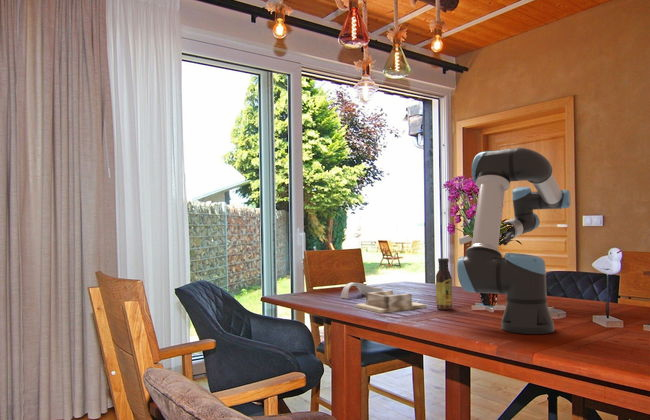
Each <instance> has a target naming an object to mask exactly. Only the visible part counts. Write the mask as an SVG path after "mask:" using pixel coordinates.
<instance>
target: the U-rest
mask: <svg viewBox="0 0 650 420" xmlns="http://www.w3.org/2000/svg"><path fill="white" fill-rule="evenodd" d="M412 297H413V296H412V293H402V294H395V295H394V291H393V290H391V289H390V290H382V291H380V292H370V293H366V295H365V298H366V299H365V300H366V301H365V302H362V303H356V304H355V307H356V308H358V309H362V310H366V311H371V312H374V313H378V314H386V313H387V314H388V313H394V312H401V311H402V312H403V311H409V310H417V309H425V308H427V305H426V304H425V303H419V302H415V301H412V300H413V298H412Z"/></svg>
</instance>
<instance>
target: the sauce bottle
mask: <svg viewBox="0 0 650 420" xmlns="http://www.w3.org/2000/svg"><path fill="white" fill-rule="evenodd" d="M449 261H450V260H449V258H448V257H447V258H446V257H441V258H438V259H437V262H438V271H437V272H436V275H435V302H436V303H435V305H436V309H438V310H443V311H444V310H452V309H453V278H452V275H451V272H450V270H449V269H450V268H449Z"/></svg>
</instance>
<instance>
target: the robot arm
mask: <svg viewBox="0 0 650 420" xmlns="http://www.w3.org/2000/svg"><path fill="white" fill-rule="evenodd" d="M473 177H474V178H473ZM471 178H472V181H473V182H474V184H475V186H476V187H477V188H478V196H477V203H476V209H475V210H476V211H475V217H474V224H473V225H474V226H473V230H472V232H473V238H471V237H470V236H469V235H467V234H466V235H464V236H461V237H458V241H459V245H460V246H461V245H464V244H466V243H469V242H471V246H469V247H468V248H466V249H465V255H464V256H460V257H459V258H458V259H457V264H456V267H457V268H456V271H457V277H458V281H459V285H460V287H461V288H462V289H463V290H464V292H467V293H475V294H493V295H495V294H496V295H506V305H505V308H504V312H503V315H502V318H501V330H504V331H506V332H510V333H514V334H523V335H524V334H525V335H545V334H547V335H548V334H550V333H551V334H552V333H554V332H555V323H554V320H553V317H552V314H551V313H550V309H549V307H548V302H547V301H548V300H547V299H548V298H547V295H548V294H547V271H546V262H545V260H544V258H542V257H540V256H538V255H534V254H533V255H532V254H525V253H515V252H514V253H513V252H507V253H505V254H504V256H503V254H502V252H501V251H499V246H502V245H503V246H507V245H508V244H509V243H510V241H511V240H513V239H515V238H517V237H518V236H521V235H524V234H527V233H531V232H533V231H534V230H535V229H537V228H539V226H540V223H541V222H540V221H541V220H540V218H539V216H538V215H537V214H536V213H535V212H534V210H535V211H536V210H562V209H568V208H570V207H571V204H572V203H571V201H572V199H571V197H572V196H571V192H570V190H568V189H561V188H560V185H559V184H558V182H557V180H556V178H555V176H554V175H553V166H552V164H551V163H550V160H549V159H548V158H546V156H545V155H543V154H541V153H539V152H537V151H535V150H533V149H530V148H526V147H515V148H506V149H497V150H486V151H481V152H479V153H477V154H475V156H474V158H473V161H472V163H471ZM520 181H527V182H529V183H531V184H532V185H533V186H534V188H535V189H536V191H532V189H531V187H530V186H519V187H516V188H514V189H512V193H511V194H512V199H511V200H512V205H513V211H514V213H513V214H514V217H512V218H511V219H508V220H506V221H503V222H504V223H505V224H508V225H513V227H511V228H509V229H508V230H507V231H505V232H503V233H502V234H500V227H501V223H502V216H503V209H504V199H505V192H506V191H507V190H509V188H510V187H511V186H510V185H511V182H520ZM499 207H500V208H499ZM505 235H506V237H504V238H503V240H502V241H501V242H500V243H499V238H502V237H503V236H505ZM505 241H507V242H505Z"/></svg>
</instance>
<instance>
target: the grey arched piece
mask: <svg viewBox="0 0 650 420" xmlns="http://www.w3.org/2000/svg"><path fill="white" fill-rule="evenodd" d="M353 286H355V287H356V288H357V290H358V291H359V292H360V293H361V294H363V296H366V293H370V292H380V291H383V289H384V288H383V287H381V286H379V287H378V286H370V285H366V284H365V283H364V284H363V283H360V282H353V281H352V282H348V283H347V284H345V285H344V287H343V288H342V290H341V293H340V298H341V299H344V300H345V299H347V300H348V299H349V292H350V291H349V290H350V289H351V288H352V287H353Z"/></svg>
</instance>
